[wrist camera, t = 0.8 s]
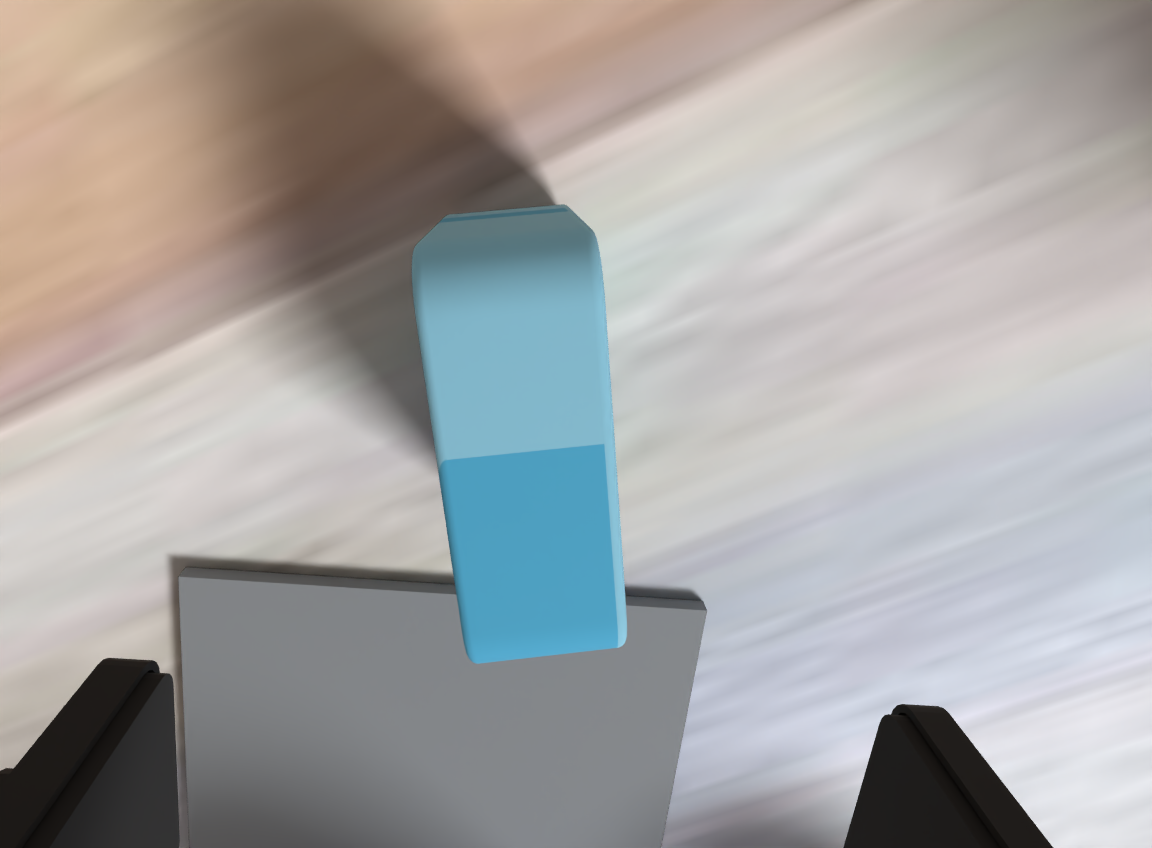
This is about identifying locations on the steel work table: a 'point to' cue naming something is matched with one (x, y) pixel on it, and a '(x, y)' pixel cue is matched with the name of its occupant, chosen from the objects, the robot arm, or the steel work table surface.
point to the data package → (523, 429)
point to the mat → (419, 721)
